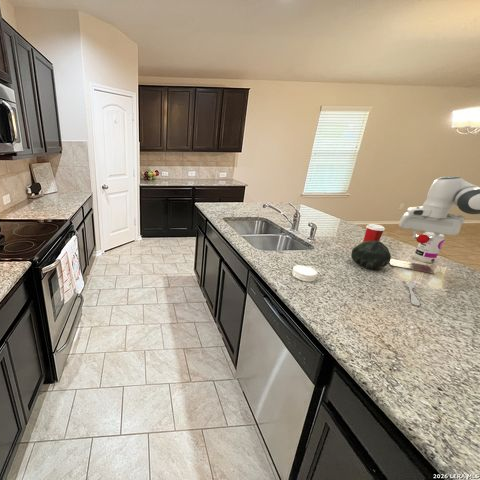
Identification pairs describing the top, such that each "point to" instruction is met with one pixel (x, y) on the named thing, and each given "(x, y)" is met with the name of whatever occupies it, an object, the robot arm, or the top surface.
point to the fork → (412, 294)
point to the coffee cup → (373, 232)
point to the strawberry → (422, 238)
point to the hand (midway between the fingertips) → (422, 239)
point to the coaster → (304, 273)
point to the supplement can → (429, 248)
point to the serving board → (410, 266)
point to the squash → (371, 254)
